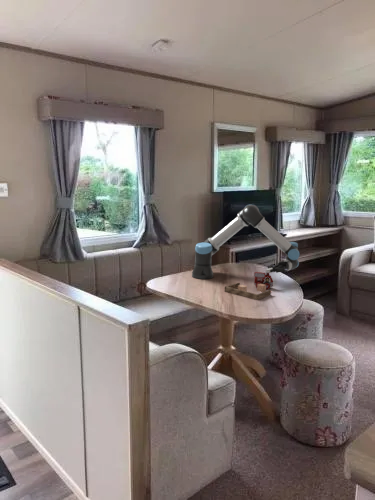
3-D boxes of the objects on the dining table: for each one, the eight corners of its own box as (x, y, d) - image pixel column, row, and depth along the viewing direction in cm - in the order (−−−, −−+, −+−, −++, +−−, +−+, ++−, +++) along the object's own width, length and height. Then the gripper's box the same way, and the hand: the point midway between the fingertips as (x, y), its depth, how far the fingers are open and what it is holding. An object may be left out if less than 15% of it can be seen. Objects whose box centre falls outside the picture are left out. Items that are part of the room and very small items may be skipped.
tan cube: (256, 290, 262) (257, 284, 261) (260, 289, 265) (260, 283, 264) (262, 292, 259) (262, 286, 258) (265, 290, 262) (266, 284, 261)
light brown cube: (237, 285, 257) (242, 284, 260) (237, 291, 258) (241, 290, 260) (242, 287, 254) (247, 286, 257) (242, 293, 255) (246, 292, 257)
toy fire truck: (272, 290, 264) (274, 274, 263) (253, 288, 266) (254, 272, 265) (272, 287, 271) (273, 271, 269) (253, 285, 273) (254, 270, 271)
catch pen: (224, 291, 258) (224, 286, 257) (238, 286, 269) (238, 282, 268) (257, 300, 242) (257, 295, 242) (270, 295, 253) (271, 290, 253)
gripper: (276, 259, 290) (258, 264, 273) (293, 262, 282) (275, 267, 264) (275, 269, 292) (257, 275, 274) (292, 273, 283) (275, 279, 266)
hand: (266, 271), depth 269 cm, fingers closed
